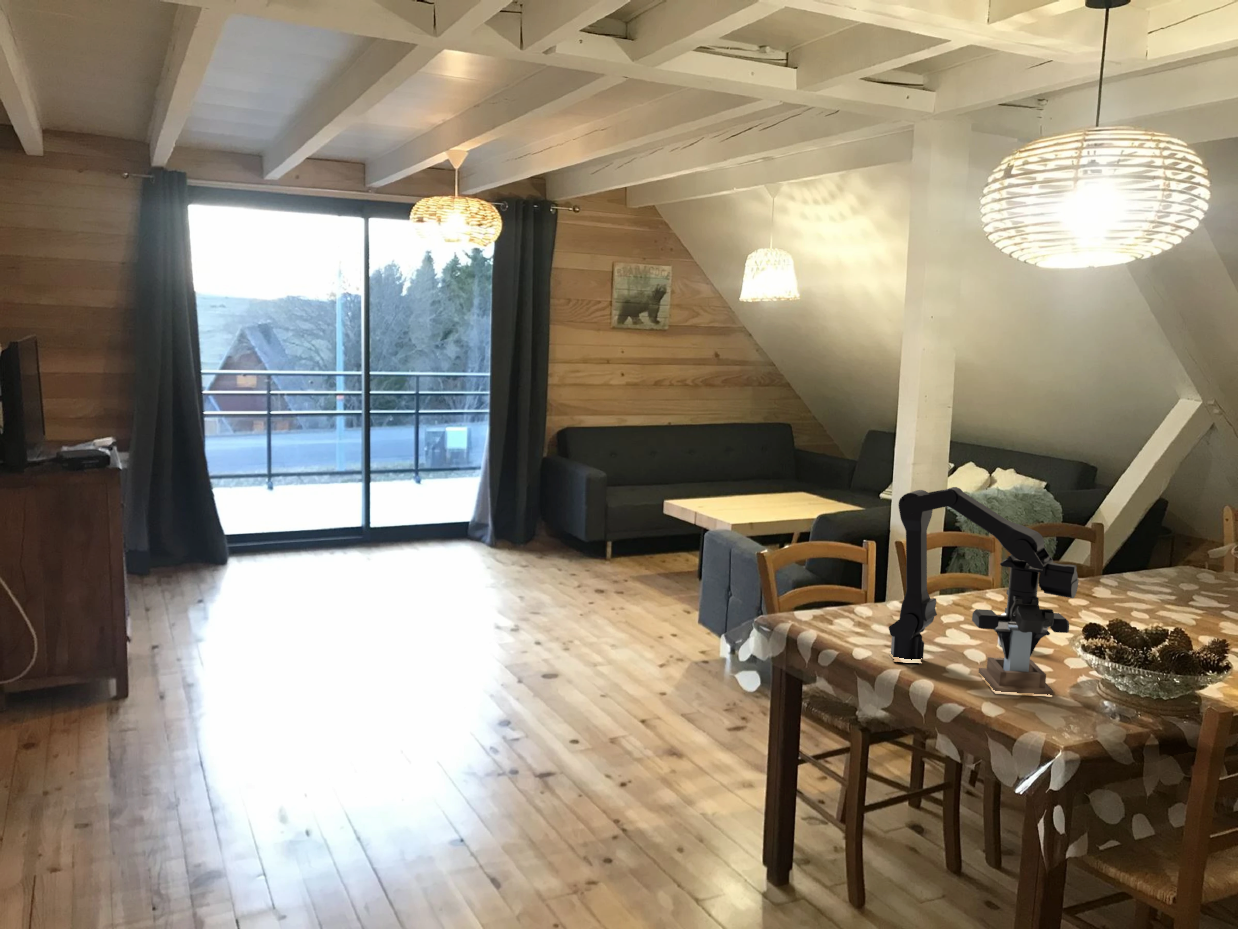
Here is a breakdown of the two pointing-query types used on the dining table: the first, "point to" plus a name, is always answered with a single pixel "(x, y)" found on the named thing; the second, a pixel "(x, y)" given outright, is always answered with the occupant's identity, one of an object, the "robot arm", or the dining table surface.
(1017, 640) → the slate peg
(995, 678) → the walnut holder
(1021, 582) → the robot arm
